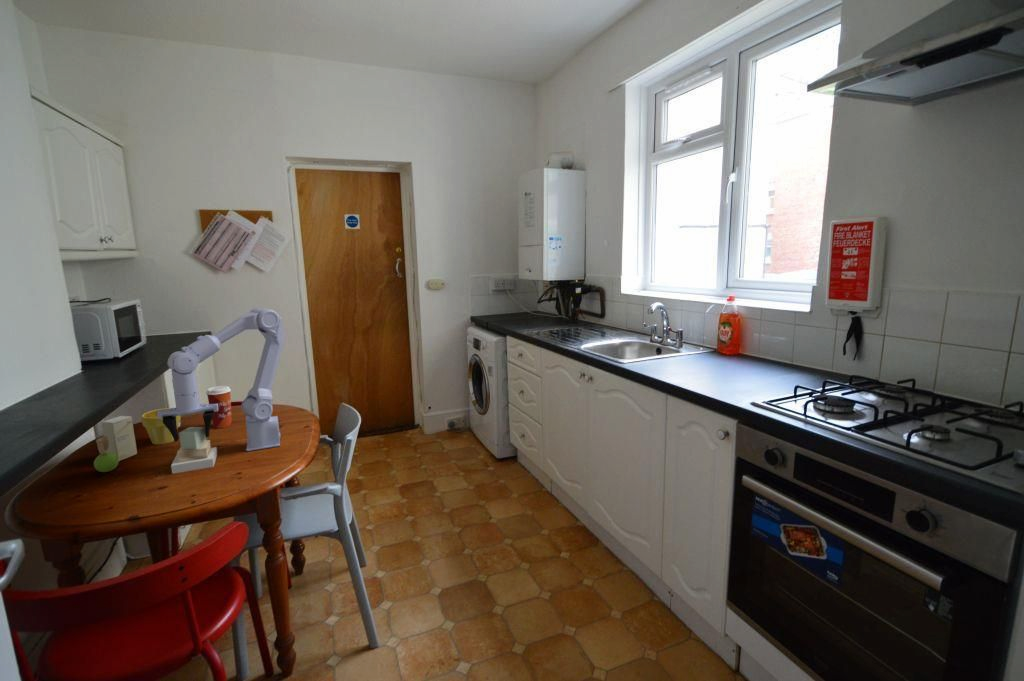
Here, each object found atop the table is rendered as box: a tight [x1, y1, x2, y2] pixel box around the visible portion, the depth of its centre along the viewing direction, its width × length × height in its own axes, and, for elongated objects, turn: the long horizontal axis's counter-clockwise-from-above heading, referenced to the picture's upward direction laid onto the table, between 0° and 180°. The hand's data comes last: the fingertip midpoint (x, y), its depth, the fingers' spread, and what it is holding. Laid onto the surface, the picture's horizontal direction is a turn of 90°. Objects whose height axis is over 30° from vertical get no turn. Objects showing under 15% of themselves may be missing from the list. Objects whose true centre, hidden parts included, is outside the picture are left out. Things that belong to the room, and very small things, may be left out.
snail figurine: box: [93, 434, 120, 473], centre depth 138 cm, size 5×6×12 cm
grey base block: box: [170, 446, 218, 474], centre depth 143 cm, size 10×10×3 cm
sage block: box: [178, 426, 207, 449], centre depth 142 cm, size 4×4×5 cm
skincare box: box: [100, 415, 138, 462], centre depth 148 cm, size 6×4×12 cm
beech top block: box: [176, 439, 212, 462], centre depth 143 cm, size 7×7×3 cm
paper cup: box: [205, 385, 233, 429], centre depth 174 cm, size 8×8×14 cm
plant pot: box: [141, 407, 182, 445], centre depth 161 cm, size 10×10×10 cm
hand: (192, 438), depth 142 cm, fingers open, 7 cm apart
